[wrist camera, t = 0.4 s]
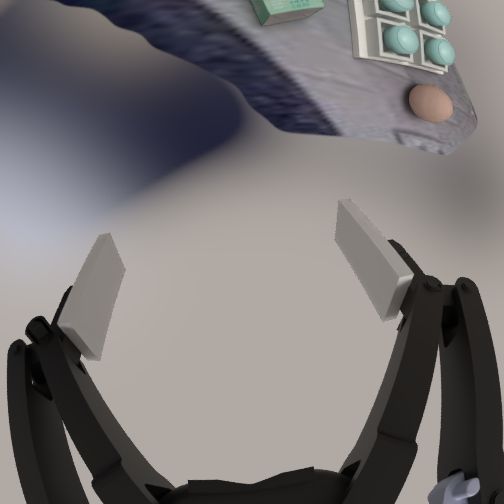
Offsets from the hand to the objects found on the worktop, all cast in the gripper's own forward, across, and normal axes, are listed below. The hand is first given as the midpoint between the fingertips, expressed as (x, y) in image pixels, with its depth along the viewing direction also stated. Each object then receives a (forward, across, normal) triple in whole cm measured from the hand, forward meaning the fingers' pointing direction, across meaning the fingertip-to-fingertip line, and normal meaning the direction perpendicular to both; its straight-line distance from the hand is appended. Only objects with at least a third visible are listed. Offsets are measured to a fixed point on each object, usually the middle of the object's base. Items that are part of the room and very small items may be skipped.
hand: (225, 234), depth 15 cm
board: (+27, +30, +22) cm, 46 cm away
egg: (+28, +34, +6) cm, 44 cm away
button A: (+22, +26, +22) cm, 41 cm away
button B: (+22, +26, +15) cm, 37 cm away
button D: (+22, +34, +15) cm, 43 cm away
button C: (+22, +34, +22) cm, 46 cm away
